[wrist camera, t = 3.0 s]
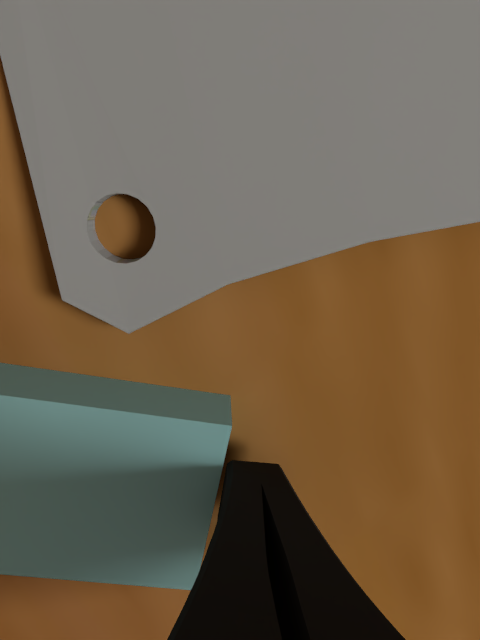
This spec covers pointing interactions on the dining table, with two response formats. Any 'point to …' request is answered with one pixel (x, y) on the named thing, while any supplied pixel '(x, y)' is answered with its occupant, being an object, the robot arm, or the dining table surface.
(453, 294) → the dining table surface
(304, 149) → the kitchen cleaver
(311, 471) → the dining table surface
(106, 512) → the slat
